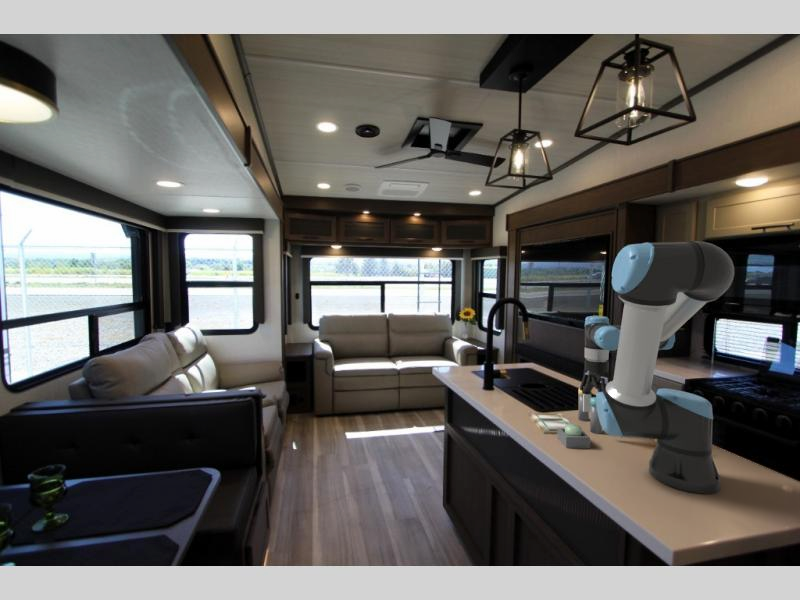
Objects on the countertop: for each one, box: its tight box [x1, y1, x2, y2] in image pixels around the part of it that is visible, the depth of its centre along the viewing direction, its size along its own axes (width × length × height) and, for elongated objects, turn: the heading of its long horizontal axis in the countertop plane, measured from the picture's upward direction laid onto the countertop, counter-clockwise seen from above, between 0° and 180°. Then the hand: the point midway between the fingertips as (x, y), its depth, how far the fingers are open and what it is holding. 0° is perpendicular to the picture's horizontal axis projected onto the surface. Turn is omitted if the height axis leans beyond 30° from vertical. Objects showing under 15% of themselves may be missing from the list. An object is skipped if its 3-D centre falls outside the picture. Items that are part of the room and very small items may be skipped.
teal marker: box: [589, 396, 603, 435], centre depth 128 cm, size 4×4×12 cm
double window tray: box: [528, 412, 573, 435], centre depth 136 cm, size 18×13×1 cm
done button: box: [565, 423, 583, 436], centre depth 119 cm, size 5×5×4 cm
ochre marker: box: [577, 387, 590, 422], centre depth 140 cm, size 4×4×12 cm
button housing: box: [556, 428, 591, 449], centre depth 119 cm, size 8×8×4 cm
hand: (595, 418), depth 128 cm, fingers open, 13 cm apart
